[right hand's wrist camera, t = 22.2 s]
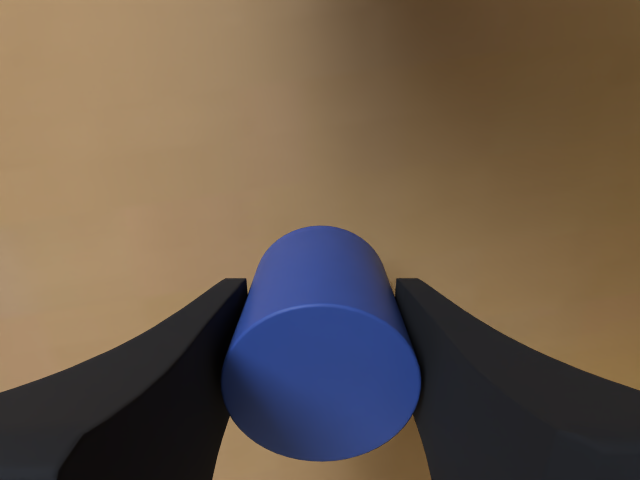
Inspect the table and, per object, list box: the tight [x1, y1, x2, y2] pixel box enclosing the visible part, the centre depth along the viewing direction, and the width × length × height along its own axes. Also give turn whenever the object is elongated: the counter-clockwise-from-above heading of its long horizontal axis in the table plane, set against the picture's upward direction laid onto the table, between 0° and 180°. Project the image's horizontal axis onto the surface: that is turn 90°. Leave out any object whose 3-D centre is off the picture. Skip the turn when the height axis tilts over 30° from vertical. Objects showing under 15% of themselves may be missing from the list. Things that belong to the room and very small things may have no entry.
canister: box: [220, 226, 421, 462], centre depth 10 cm, size 4×4×5 cm
